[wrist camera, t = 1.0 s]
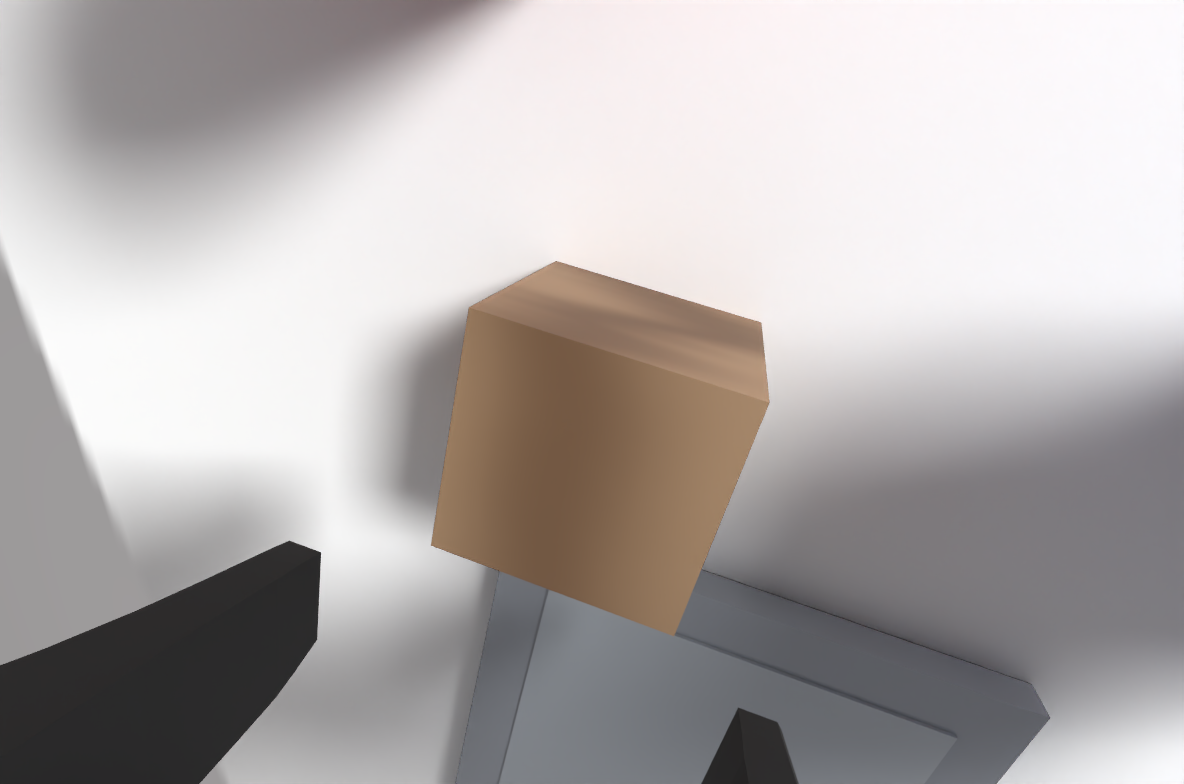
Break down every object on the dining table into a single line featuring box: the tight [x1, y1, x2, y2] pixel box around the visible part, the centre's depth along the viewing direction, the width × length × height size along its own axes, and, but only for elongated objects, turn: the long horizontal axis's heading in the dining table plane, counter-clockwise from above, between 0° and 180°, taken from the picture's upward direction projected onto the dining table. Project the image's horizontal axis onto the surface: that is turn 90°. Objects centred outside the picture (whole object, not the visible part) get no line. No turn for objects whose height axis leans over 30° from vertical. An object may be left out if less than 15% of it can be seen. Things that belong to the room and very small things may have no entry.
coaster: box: [455, 570, 1050, 784], centre depth 18 cm, size 14×14×1 cm
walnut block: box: [431, 261, 769, 636], centre depth 13 cm, size 5×5×5 cm
